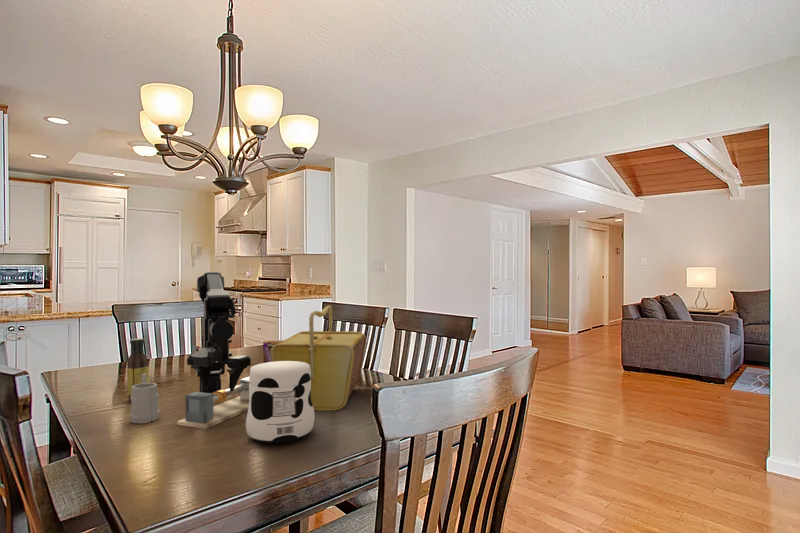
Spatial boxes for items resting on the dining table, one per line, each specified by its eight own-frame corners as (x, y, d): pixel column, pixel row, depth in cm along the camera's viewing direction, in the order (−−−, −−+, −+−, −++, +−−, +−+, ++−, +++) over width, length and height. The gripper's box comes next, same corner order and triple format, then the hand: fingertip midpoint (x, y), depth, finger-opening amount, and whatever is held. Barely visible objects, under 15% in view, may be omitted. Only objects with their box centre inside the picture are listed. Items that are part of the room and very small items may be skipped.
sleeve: (257, 392, 161) (257, 373, 161) (267, 393, 160) (267, 374, 160) (240, 399, 153) (239, 379, 153) (250, 401, 152) (250, 380, 152)
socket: (196, 416, 136) (196, 391, 136) (213, 418, 134) (213, 393, 134) (185, 421, 133) (185, 395, 132) (203, 423, 131) (202, 397, 130)
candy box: (289, 379, 184) (289, 339, 184) (286, 382, 180) (286, 341, 180) (266, 379, 185) (266, 339, 184) (263, 382, 180) (262, 341, 180)
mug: (129, 425, 132) (129, 382, 132) (129, 414, 142) (129, 373, 142) (160, 421, 136) (160, 379, 135) (158, 410, 146) (158, 370, 146)
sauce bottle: (152, 396, 161) (152, 337, 161) (143, 401, 155) (143, 340, 155) (133, 396, 161) (133, 337, 161) (123, 401, 155) (123, 340, 155)
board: (251, 394, 163) (251, 391, 163) (276, 396, 160) (276, 393, 160) (177, 424, 132) (177, 421, 132) (206, 429, 129) (206, 425, 129)
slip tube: (244, 389, 155) (244, 379, 155) (253, 390, 153) (253, 380, 153) (194, 409, 134) (194, 397, 134) (204, 410, 133) (203, 398, 133)
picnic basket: (353, 413, 142) (353, 312, 142) (268, 412, 144) (268, 312, 143) (367, 388, 171) (366, 304, 171) (296, 387, 173) (295, 304, 173)
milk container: (280, 421, 135) (279, 357, 135) (328, 431, 127) (327, 364, 126) (230, 440, 120) (230, 369, 120) (281, 454, 112) (280, 377, 112)
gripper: (172, 339, 136) (172, 394, 136) (226, 342, 130) (226, 400, 130) (200, 333, 147) (201, 384, 147) (251, 336, 140) (252, 389, 140)
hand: (218, 389), depth 141 cm, fingers open, 9 cm apart
